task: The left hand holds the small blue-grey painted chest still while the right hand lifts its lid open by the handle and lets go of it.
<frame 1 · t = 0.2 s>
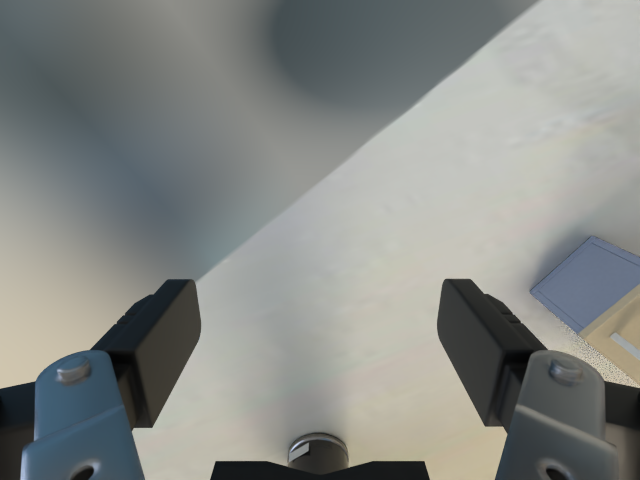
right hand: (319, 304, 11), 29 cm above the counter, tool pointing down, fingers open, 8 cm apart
chest: (598, 298, 44), on the counter
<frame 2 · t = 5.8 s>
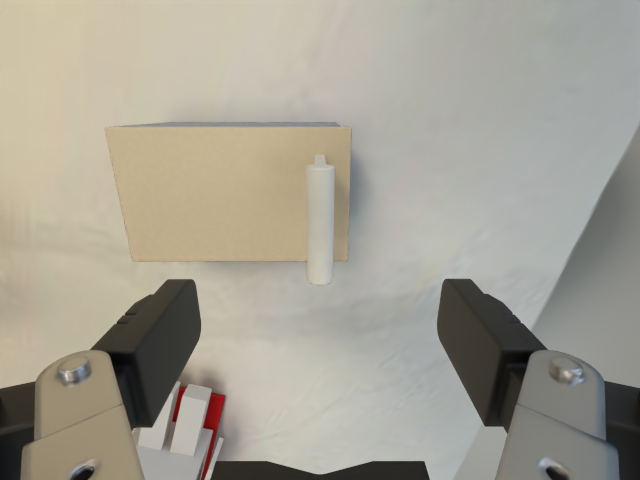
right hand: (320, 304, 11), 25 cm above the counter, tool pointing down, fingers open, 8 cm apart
chest: (255, 174, 34), on the counter
lid: (223, 210, 22), point 13 cm above the counter, hinge at 0.0°
toy: (176, 448, 47), on the counter
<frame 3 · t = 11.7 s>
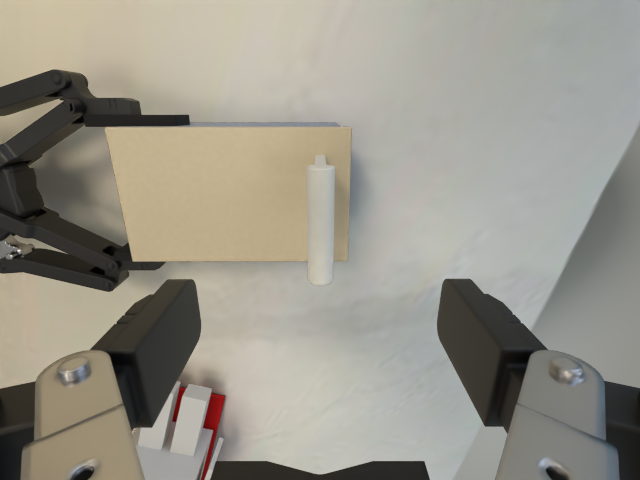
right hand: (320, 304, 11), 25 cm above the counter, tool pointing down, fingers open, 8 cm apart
left hand: (192, 189, 28), fingers closed on chest, 10 cm apart
chest: (255, 174, 34), on the counter, touching left hand
lid: (223, 210, 22), point 13 cm above the counter, hinge at 0.0°
toy: (176, 448, 47), on the counter
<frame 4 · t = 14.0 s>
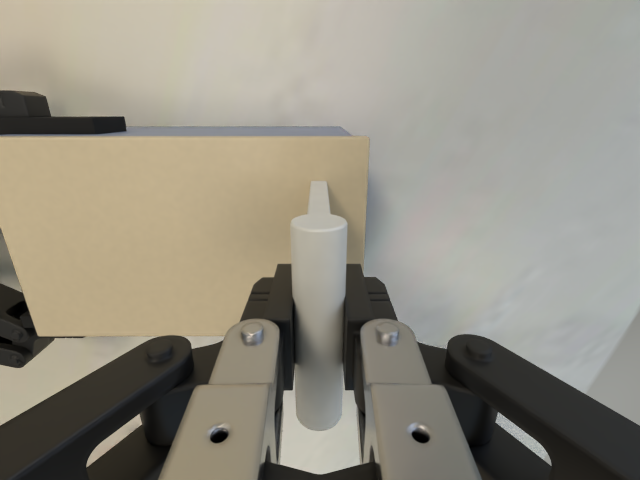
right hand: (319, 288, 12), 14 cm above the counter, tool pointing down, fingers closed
chest: (232, 196, 25), on the counter, touching left hand
lid: (156, 277, 13), point 13 cm above the counter, hinge at 0.0°, touching right hand
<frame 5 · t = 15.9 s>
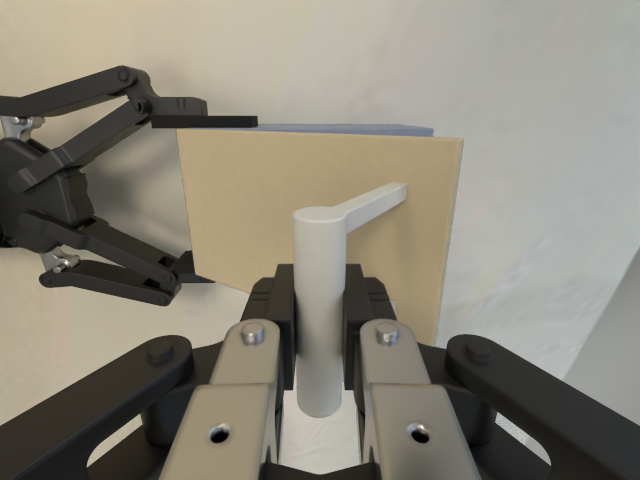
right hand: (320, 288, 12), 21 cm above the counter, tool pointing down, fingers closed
left hand: (259, 196, 26), fingers closed on chest, 10 cm apart
chest: (310, 179, 32), on the counter, touching left hand
lid: (245, 245, 16), point 17 cm above the counter, hinge at 33.8°, touching right hand
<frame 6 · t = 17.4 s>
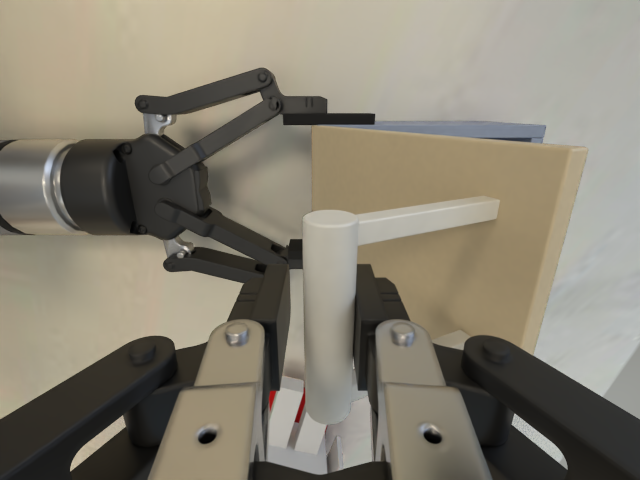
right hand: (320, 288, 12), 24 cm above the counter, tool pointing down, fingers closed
left hand: (368, 188, 28), fingers closed on chest, 10 cm apart
chest: (397, 173, 34), on the counter, touching left hand
lid: (327, 239, 17), point 19 cm above the counter, hinge at 63.6°, touching right hand
toy: (278, 446, 47), on the counter
when the left hand's fingers open (7 cm above the counter, at t = 21.3 s): chest stays where it is, on the counter.
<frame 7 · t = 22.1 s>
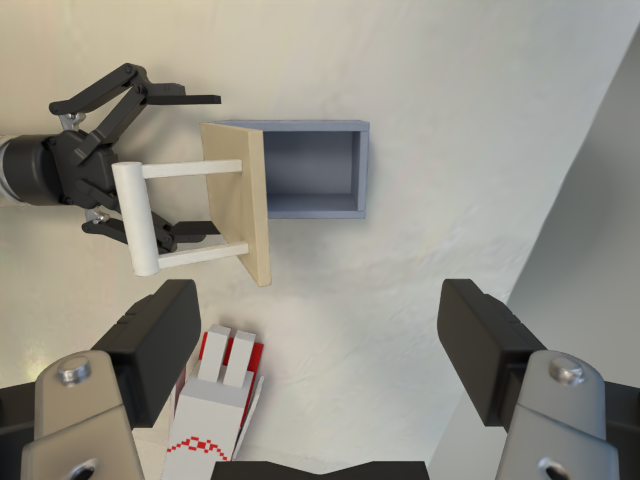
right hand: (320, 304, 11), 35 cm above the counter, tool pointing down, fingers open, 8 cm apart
left hand: (225, 167, 37), fingers open, 13 cm apart
chest: (295, 160, 44), on the counter
lid: (183, 193, 26), point 19 cm above the counter, hinge at 63.1°
toy: (220, 391, 57), on the counter
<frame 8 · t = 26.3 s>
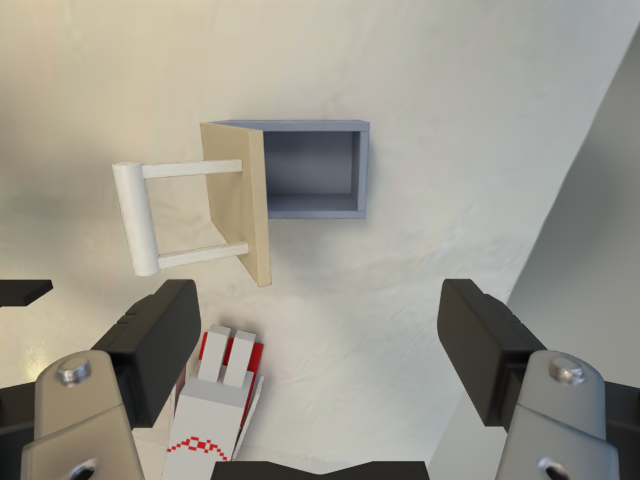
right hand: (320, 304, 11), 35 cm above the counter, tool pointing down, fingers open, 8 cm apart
chest: (295, 160, 44), on the counter
lid: (183, 193, 26), point 19 cm above the counter, hinge at 63.1°
toy: (220, 391, 57), on the counter
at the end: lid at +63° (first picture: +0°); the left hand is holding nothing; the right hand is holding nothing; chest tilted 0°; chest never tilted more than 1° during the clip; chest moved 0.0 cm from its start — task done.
